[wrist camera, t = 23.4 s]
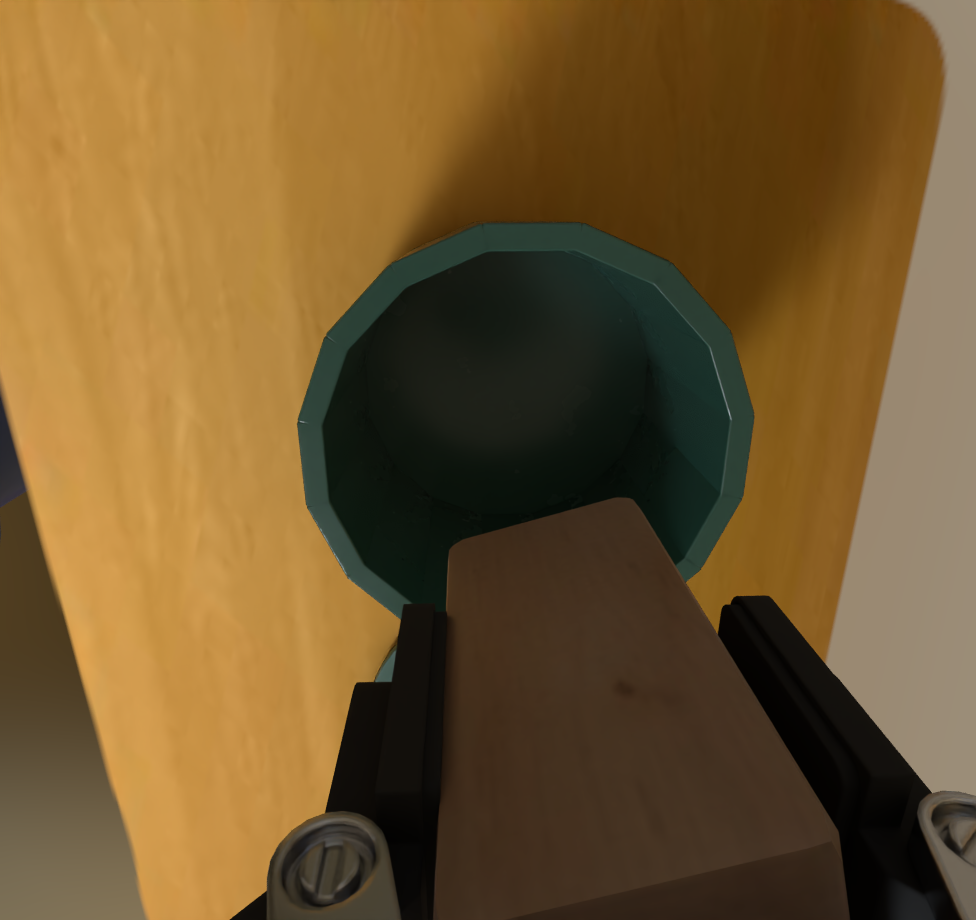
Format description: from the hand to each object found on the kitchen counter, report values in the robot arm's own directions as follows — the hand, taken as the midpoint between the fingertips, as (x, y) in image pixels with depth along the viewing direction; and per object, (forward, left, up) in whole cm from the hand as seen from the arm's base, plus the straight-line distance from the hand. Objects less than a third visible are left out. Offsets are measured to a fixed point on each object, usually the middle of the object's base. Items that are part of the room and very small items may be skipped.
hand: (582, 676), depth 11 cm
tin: (0, 0, -21) cm, 21 cm away
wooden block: (0, 0, -3) cm, 3 cm away
